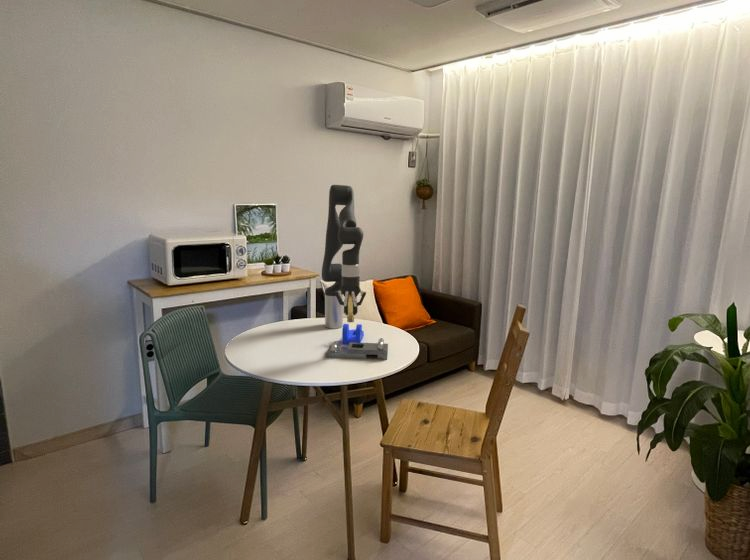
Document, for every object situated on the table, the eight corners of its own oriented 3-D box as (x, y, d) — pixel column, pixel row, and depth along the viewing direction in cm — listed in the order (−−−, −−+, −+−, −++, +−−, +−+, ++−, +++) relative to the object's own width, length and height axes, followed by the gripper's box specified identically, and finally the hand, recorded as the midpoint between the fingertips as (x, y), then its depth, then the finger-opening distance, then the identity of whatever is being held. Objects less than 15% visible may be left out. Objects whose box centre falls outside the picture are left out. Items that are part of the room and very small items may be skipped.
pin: (347, 320, 191) (347, 293, 189) (354, 320, 191) (354, 293, 189) (346, 322, 188) (346, 294, 186) (353, 322, 188) (353, 294, 186)
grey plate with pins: (329, 350, 196) (329, 336, 195) (387, 352, 195) (388, 338, 194) (325, 357, 188) (325, 342, 186) (387, 359, 186) (387, 345, 185)
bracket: (360, 345, 203) (360, 326, 202) (342, 344, 204) (342, 326, 203) (364, 333, 221) (364, 316, 219) (348, 333, 222) (348, 315, 220)
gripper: (368, 273, 189) (367, 312, 192) (335, 273, 190) (336, 312, 193) (366, 276, 182) (366, 317, 185) (332, 275, 183) (332, 316, 186)
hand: (350, 314), depth 189 cm, fingers closed on pin, 3 cm apart
